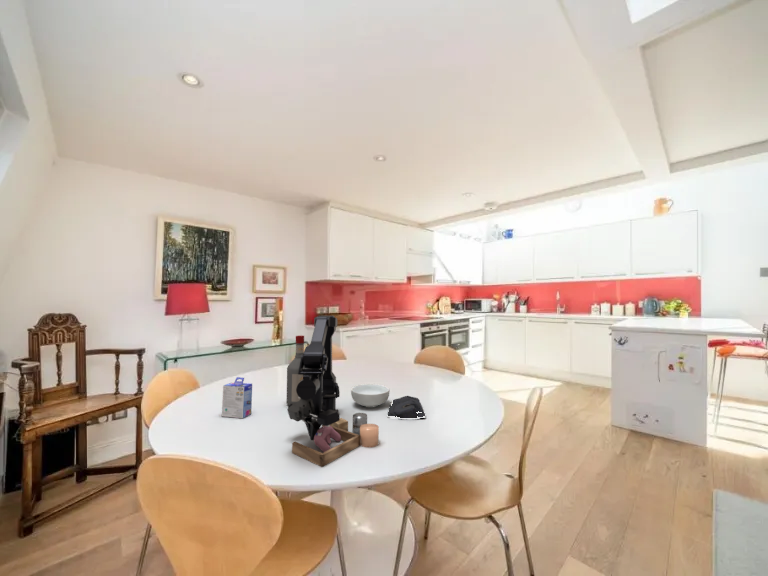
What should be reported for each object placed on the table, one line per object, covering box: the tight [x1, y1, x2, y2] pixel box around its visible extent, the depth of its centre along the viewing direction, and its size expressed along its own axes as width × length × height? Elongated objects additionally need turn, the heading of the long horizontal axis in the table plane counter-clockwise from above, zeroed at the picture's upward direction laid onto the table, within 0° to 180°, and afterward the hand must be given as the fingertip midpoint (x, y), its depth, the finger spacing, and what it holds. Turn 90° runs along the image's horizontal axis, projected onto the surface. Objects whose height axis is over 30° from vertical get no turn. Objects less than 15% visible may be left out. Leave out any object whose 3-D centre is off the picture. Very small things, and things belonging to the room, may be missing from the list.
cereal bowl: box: [350, 383, 390, 408], centre depth 135 cm, size 17×17×7 cm
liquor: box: [286, 335, 305, 407], centre depth 136 cm, size 9×9×30 cm
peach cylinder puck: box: [360, 423, 380, 448], centre depth 98 cm, size 6×6×5 cm
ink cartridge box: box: [221, 376, 253, 419], centre depth 122 cm, size 10×6×14 cm, turn 78°
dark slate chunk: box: [387, 395, 426, 418], centre depth 129 cm, size 15×22×5 cm
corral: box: [291, 426, 361, 468], centre depth 94 cm, size 16×13×3 cm
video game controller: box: [313, 425, 342, 453], centre depth 96 cm, size 10×5×7 cm, turn 168°
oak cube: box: [332, 417, 349, 431], centre depth 106 cm, size 4×4×4 cm
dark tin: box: [351, 412, 368, 435], centre depth 105 cm, size 5×5×6 cm
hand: (312, 439), depth 98 cm, fingers closed
